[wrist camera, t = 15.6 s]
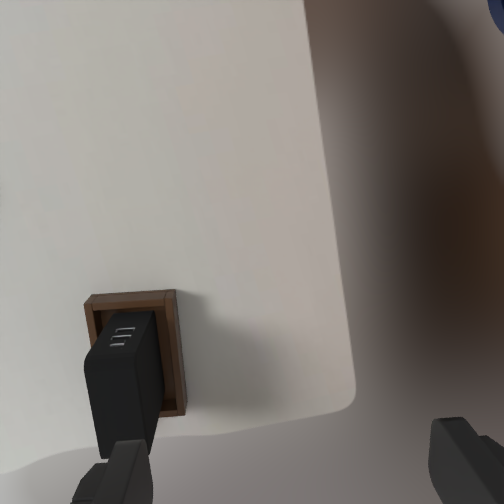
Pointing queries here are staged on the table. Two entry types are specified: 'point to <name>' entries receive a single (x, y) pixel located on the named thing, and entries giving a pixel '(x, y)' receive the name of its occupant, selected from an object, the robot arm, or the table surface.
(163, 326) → the tray
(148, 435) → the electronic device
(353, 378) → the table surface
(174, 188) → the table surface
